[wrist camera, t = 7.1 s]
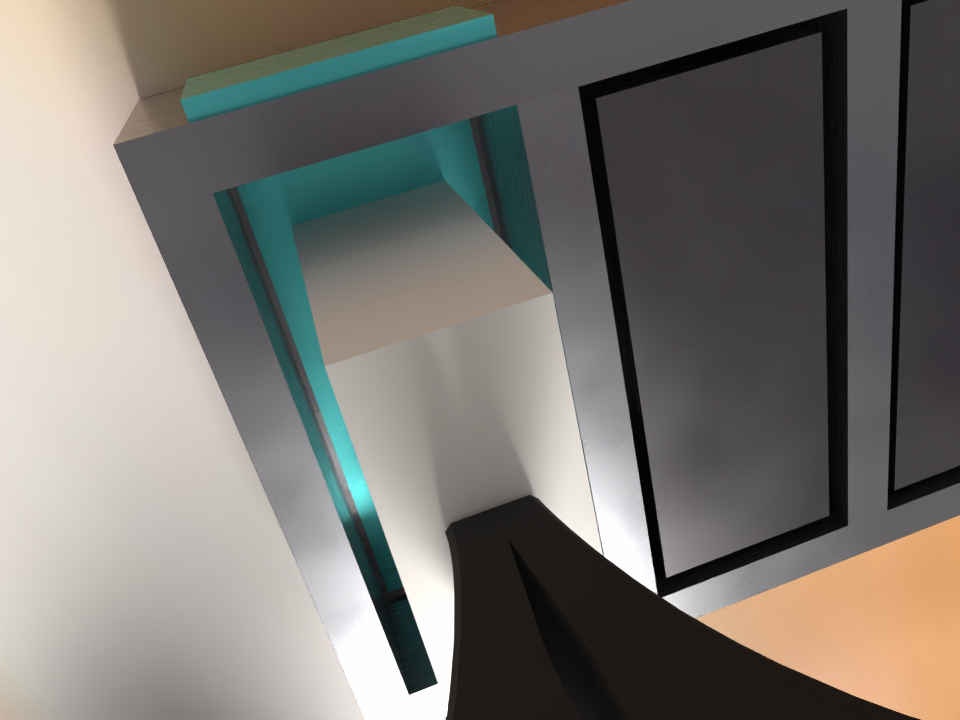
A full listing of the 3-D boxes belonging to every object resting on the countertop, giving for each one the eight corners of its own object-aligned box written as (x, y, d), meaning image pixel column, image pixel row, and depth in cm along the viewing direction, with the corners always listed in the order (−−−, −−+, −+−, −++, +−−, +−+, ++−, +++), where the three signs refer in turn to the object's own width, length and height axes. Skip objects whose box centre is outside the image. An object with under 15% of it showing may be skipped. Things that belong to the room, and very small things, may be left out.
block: (445, 180, 16) (552, 293, 11) (524, 503, 20) (631, 702, 14) (291, 225, 15) (324, 366, 10) (402, 546, 19) (468, 767, 14)
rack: (1007, -154, 17) (1207, -182, 14) (964, 387, 23) (1092, 462, 20) (132, 82, 15) (103, 123, 11) (351, 613, 21) (375, 743, 18)
